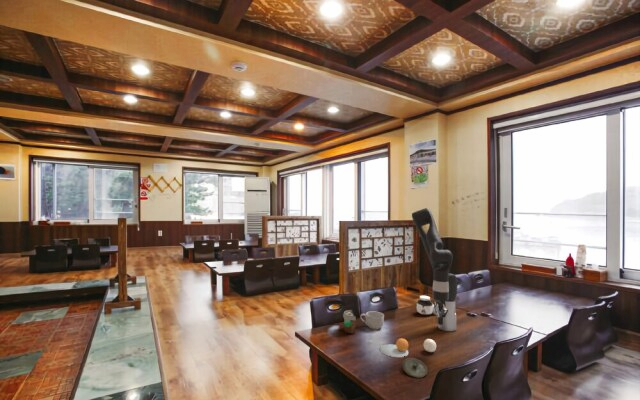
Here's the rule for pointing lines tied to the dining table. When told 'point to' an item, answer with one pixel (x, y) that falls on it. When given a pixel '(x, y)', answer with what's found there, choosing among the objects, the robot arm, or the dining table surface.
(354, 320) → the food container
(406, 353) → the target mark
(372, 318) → the teacup
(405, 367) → the lid
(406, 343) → the object ball
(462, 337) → the dining table surface
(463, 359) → the dining table surface
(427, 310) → the spread jar
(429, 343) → the cue ball
